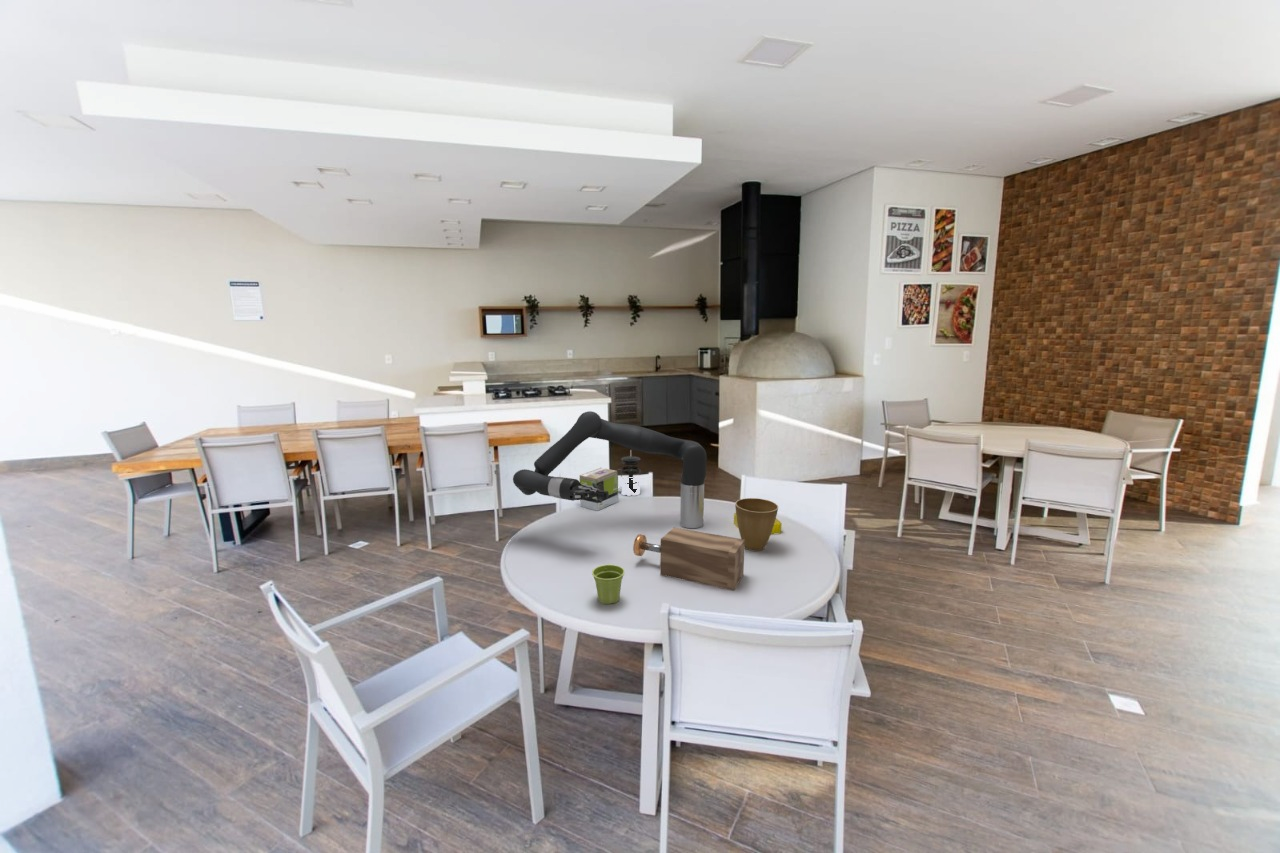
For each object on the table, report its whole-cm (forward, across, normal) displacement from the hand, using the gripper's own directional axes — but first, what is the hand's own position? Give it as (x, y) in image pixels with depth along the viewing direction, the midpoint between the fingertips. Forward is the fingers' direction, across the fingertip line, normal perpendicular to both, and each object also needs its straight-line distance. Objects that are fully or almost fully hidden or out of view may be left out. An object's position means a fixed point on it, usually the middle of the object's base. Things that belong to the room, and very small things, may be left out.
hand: (607, 495), depth 183 cm
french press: (-24, +65, +22) cm, 73 cm away
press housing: (+34, 0, +22) cm, 40 cm away
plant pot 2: (+44, +29, +22) cm, 57 cm away
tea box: (-29, +45, +22) cm, 58 cm away
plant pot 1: (+15, -26, +22) cm, 37 cm away
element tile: (+40, +48, +22) cm, 67 cm away
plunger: (+22, 0, +19) cm, 29 cm away
